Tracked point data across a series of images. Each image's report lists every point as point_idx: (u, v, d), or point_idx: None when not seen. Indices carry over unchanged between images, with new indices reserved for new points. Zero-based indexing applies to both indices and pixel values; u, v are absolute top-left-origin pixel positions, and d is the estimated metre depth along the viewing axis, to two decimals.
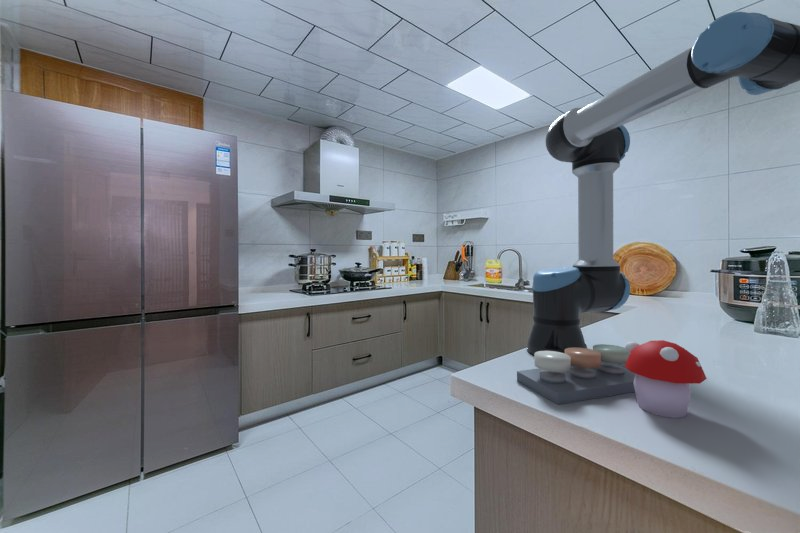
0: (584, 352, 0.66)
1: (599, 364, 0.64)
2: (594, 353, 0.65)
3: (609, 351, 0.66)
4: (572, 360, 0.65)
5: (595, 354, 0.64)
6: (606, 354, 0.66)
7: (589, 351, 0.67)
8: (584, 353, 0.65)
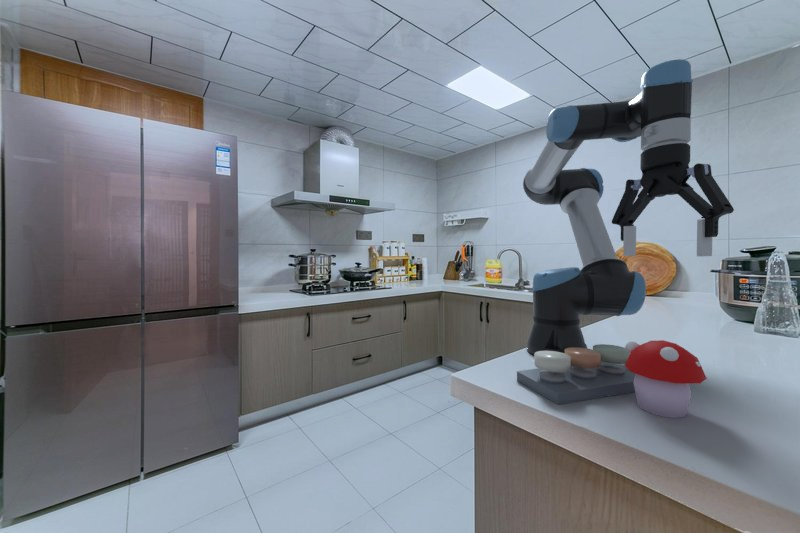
0: (584, 352, 0.66)
1: (599, 364, 0.64)
2: (594, 353, 0.65)
3: (609, 351, 0.66)
4: (572, 360, 0.65)
5: (595, 354, 0.64)
6: (606, 354, 0.66)
7: (589, 351, 0.67)
8: (584, 353, 0.65)
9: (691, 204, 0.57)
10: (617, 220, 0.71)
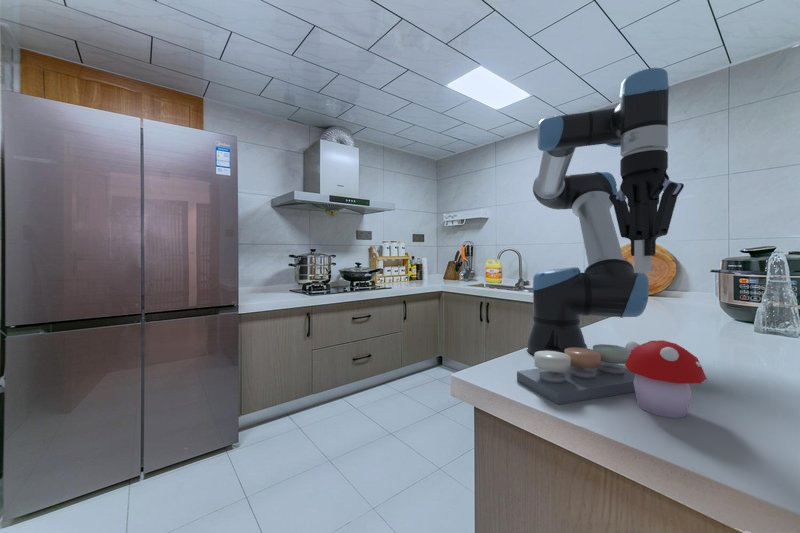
0: (584, 352, 0.66)
1: (599, 364, 0.64)
2: (594, 353, 0.65)
3: (609, 351, 0.66)
4: (572, 360, 0.65)
5: (595, 354, 0.64)
6: (606, 354, 0.66)
7: (589, 351, 0.67)
8: (584, 353, 0.65)
9: (643, 220, 0.63)
10: (626, 231, 0.66)
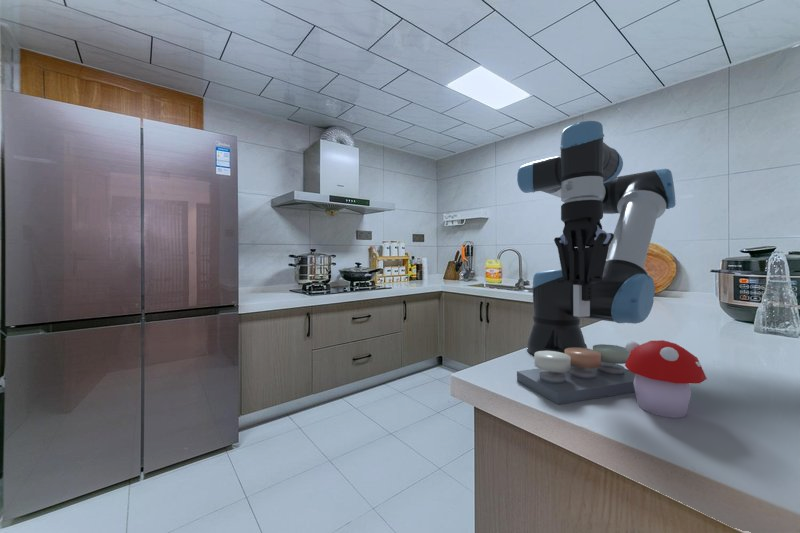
0: (584, 352, 0.66)
1: (599, 364, 0.64)
2: (594, 353, 0.65)
3: (609, 351, 0.66)
4: (572, 360, 0.65)
5: (595, 354, 0.64)
6: (606, 354, 0.66)
7: (589, 351, 0.67)
8: (584, 353, 0.65)
9: (580, 266, 0.65)
10: (567, 275, 0.68)
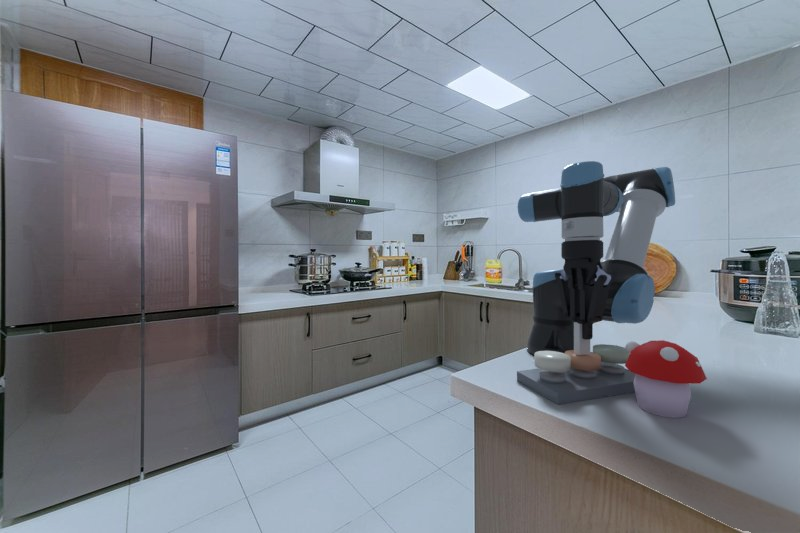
0: (584, 355, 0.66)
1: (599, 367, 0.64)
2: (594, 356, 0.65)
3: (609, 351, 0.66)
4: (572, 363, 0.65)
5: (595, 357, 0.64)
6: (606, 354, 0.66)
7: (589, 354, 0.67)
8: (584, 356, 0.65)
9: (580, 304, 0.65)
10: (567, 311, 0.68)
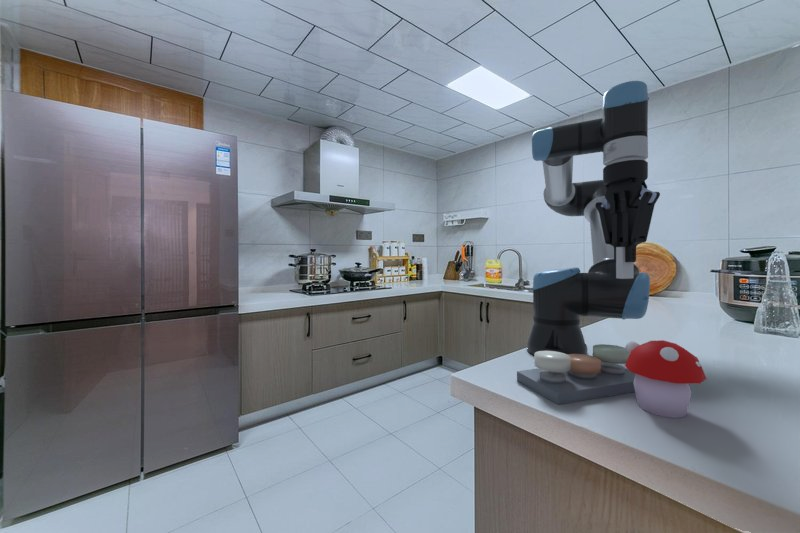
0: (584, 359, 0.66)
1: (599, 371, 0.64)
2: (594, 360, 0.65)
3: (609, 351, 0.66)
4: (572, 367, 0.65)
5: (595, 361, 0.65)
6: (606, 354, 0.66)
7: (589, 358, 0.67)
8: (584, 360, 0.65)
9: (623, 227, 0.65)
10: (609, 238, 0.68)
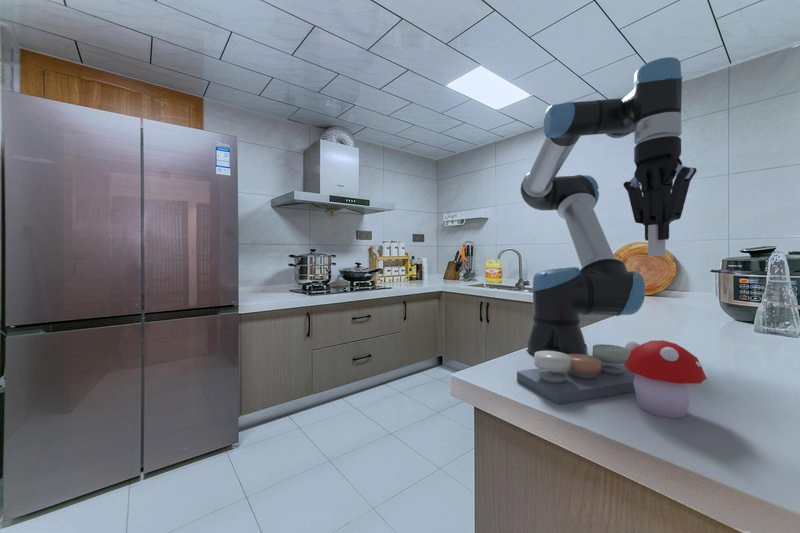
0: (584, 359, 0.66)
1: (599, 371, 0.64)
2: (594, 360, 0.65)
3: (609, 351, 0.66)
4: (572, 367, 0.65)
5: (595, 361, 0.65)
6: (606, 354, 0.66)
7: (589, 358, 0.67)
8: (584, 360, 0.65)
9: (657, 205, 0.64)
10: (640, 217, 0.68)
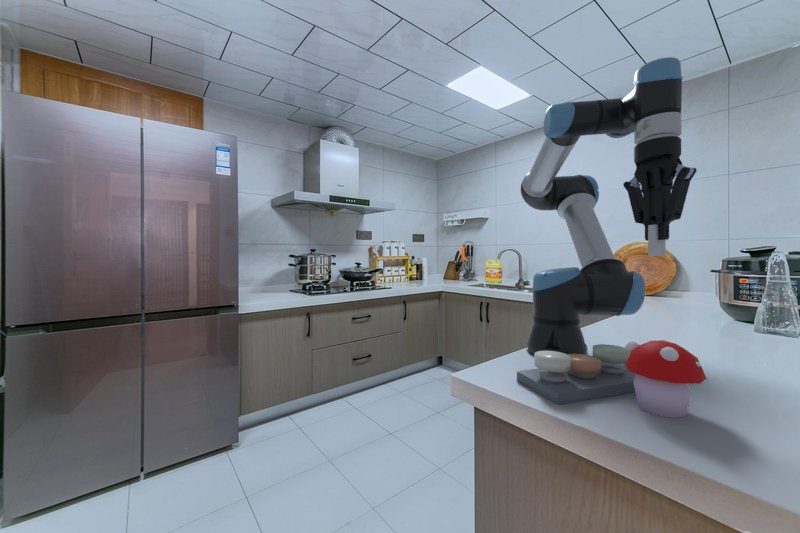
0: (584, 359, 0.66)
1: (599, 371, 0.64)
2: (594, 360, 0.65)
3: (609, 351, 0.66)
4: (572, 367, 0.65)
5: (595, 361, 0.65)
6: (606, 354, 0.66)
7: (589, 358, 0.67)
8: (584, 360, 0.65)
9: (657, 205, 0.64)
10: (640, 217, 0.68)
